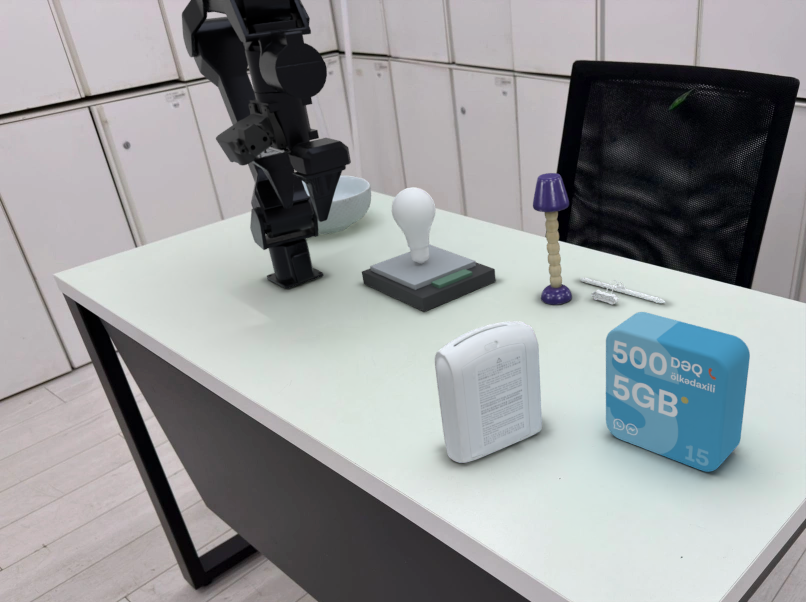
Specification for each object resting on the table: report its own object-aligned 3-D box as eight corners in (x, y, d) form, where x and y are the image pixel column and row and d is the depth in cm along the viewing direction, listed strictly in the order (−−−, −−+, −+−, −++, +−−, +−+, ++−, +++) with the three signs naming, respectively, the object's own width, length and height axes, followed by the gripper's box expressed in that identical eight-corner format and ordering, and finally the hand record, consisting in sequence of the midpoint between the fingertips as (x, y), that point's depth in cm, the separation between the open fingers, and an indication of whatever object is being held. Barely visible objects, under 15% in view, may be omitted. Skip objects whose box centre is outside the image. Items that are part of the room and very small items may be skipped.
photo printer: (525, 413, 78) (518, 305, 71) (549, 431, 74) (544, 320, 68) (438, 449, 73) (422, 338, 67) (460, 471, 70) (445, 355, 63)
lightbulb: (436, 271, 105) (425, 194, 99) (394, 271, 106) (382, 195, 101) (446, 255, 110) (437, 181, 104) (407, 255, 111) (396, 182, 106)
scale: (363, 284, 110) (360, 266, 109) (432, 257, 117) (430, 240, 116) (424, 312, 100) (421, 293, 99) (496, 281, 108) (494, 263, 106)
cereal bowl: (289, 250, 125) (280, 209, 121) (273, 223, 138) (264, 185, 134) (387, 230, 130) (380, 190, 126) (362, 206, 143) (356, 169, 140)
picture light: (666, 303, 98) (667, 288, 97) (648, 315, 95) (648, 300, 94) (581, 280, 106) (581, 266, 105) (562, 290, 103) (562, 276, 102)
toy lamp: (532, 301, 101) (524, 179, 92) (546, 288, 104) (540, 169, 96) (564, 306, 99) (560, 182, 90) (578, 293, 102) (575, 171, 94)
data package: (604, 434, 73) (604, 325, 67) (629, 413, 76) (631, 307, 70) (717, 478, 66) (729, 361, 60) (739, 453, 69) (752, 339, 63)
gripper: (183, 94, 92) (217, 216, 100) (251, 108, 80) (284, 247, 88) (265, 79, 98) (291, 196, 106) (340, 91, 86) (363, 221, 94)
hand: (305, 214), depth 98 cm, fingers open, 9 cm apart
